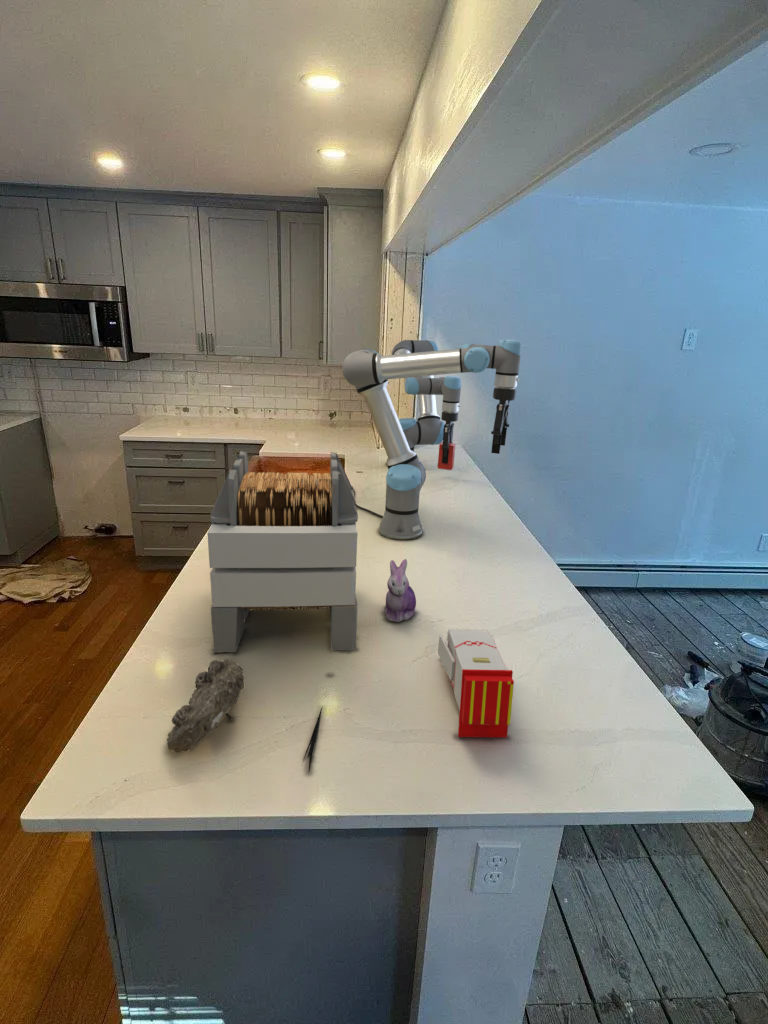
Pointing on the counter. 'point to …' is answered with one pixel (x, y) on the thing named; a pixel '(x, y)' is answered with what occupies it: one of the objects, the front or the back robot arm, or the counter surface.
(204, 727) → the fossil
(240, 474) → the grey record crate stand
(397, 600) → the figurine
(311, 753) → the feather
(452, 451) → the brick
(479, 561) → the counter surface
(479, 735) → the toy
